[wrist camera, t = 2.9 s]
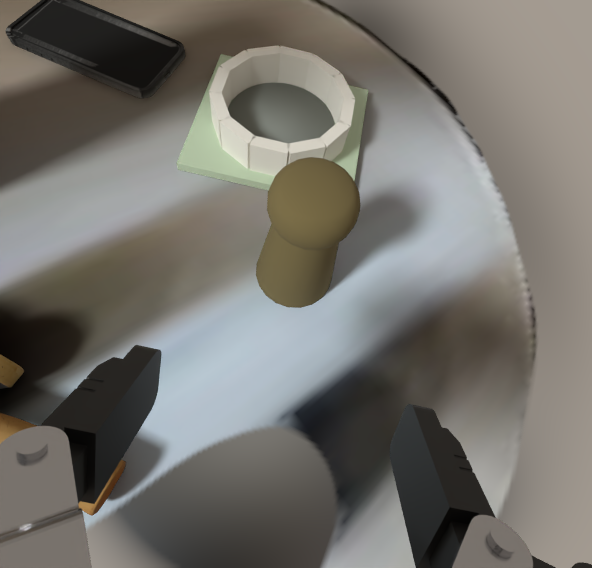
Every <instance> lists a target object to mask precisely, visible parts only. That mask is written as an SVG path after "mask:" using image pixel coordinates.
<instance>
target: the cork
mask: <svg viewBox="0 0 592 568" xmlns="http://www.w3.org/2000/svg"><path fill="white" fill-rule="evenodd" d="M267 211H268V214H269V217H270V220H271V223H272V224H271V227H270V230H269V232H268V235H267V238H266V240H265V243H264V246H263V249H262V251H261V254H260V257H259V259H258V262H257V268H256V276H257V279H258V283H259V286H260V287H261V289H262V290H263V292H264V293H265V294H266V296H268V297H269V298H270V299H272V300H273V301H274V302H276V303H278V304H281V305H283V306H286V307H298V308H301V307H304V306H308V305H312V304H313V303H315V302H316V301H318V300H319V299H321V298H322V297H323V296H324V294H325V293H326V292H327V290H328V289H329V285H330V282H331V279H332V274H333V269H334V264H335V259H336V254H337V249H338V244H339V242H340V241H342V240H343V239H344V238H345V237H346V236H347V235H348V234H349V232H350V231H351V230H352V229H353V227H354V225H355V224H356V221H357V218H358V215H359V211H360V196H359V191H358V189H357V187H356V184H355V182H354V180H353V178H352V177H351V176H350V175H349V173H348V172H347V171H346V170H345V169H344V168H342V167H341V166H339V165H338V164H336V163H335V162H332V161H329V160H327V159H324V158H315V157H308V158H302V159H298V160H296V161H294V162H292V163H290V164H288V165H286V166H285V167H283V168H282V169H281V170H280V171H279V172H278V173H277V175H276V176H275V178H274V180H273V182H272V184H271V186H270V188H269V191H268V203H267Z"/></svg>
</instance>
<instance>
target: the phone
mask: <svg viewBox="0 0 592 568" xmlns="http://www.w3.org/2000/svg"><path fill="white" fill-rule="evenodd" d="M6 34H7V36H8V38H9V39H10V41H11V42H12V44H14V45H15V46H18V47H20V48H22V49H25V50H27V51H29V52H32V53H34V54H36V55H39V56H41V57H44V58H46V59H48V60H51V61H53V62H55V63H58V64H60V65H62V66H65V67H67V68H69V69H72V70H74V71H76V72H79V73H81V74H83V75H86V76H88V77H91V78H93V79H95V80H98V81H100V82H102V83H105V84H107V85H109V86H112V87H114V88H116V89H119V90H121V91H123V92H126V93H128V94H131V95H133V96H135V97H138V98H147V97H150V96H152V95H153V94H154V93H155V92H156V91H157V90H158V89H159V87H160V86H161V85H162V84H163V83H164V82H165V80H166V79H167V78H168V77H169V76H170V75H171V73H172V72H173V71H174V70H175V69H176V68H177V67H178V65H179V64H180V63H181V62H182V61H183V60H184V58H185V50H184V46H183V44H182V43H181V42H179V41H177V40H175V39H172V38H170V37H167V36H165V35H162V34H160V33H158V32H155V31H153V30H150V29H148V28H145V27H143V26H141V25H138V24H136V23H133V22H131V21H129V20H126V19H124V18H121V17H119V16H116V15H114V14H112V13H109V12H107V11H104V10H102V9H100V8H97V7H95V6H92V5H90V4H87V3H85V2H83V1H80V0H41V1H40V2H39V3H37V4H36V5H35V6H33V7H32V8H31V9H30V10H28V11H27V12H26V13H25V14H23V15H22V16H21V17H19V18H18V19H17V20H16V21H14V22H13V23H12V24H11V25H9V26H8V27H7V28H6ZM168 72H169V73H168ZM167 73H168V74H167ZM166 74H167V76H166V77H165V78H164V76H165V75H166Z"/></svg>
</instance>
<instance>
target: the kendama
mask: <svg viewBox="0 0 592 568" xmlns="http://www.w3.org/2000/svg"><path fill="white" fill-rule="evenodd" d="M23 372H24V370H23V368H22V367H20V366H19V365H17V364H16V363H14V362H12V361H10V360H9V359H7V358H6V357H4V356H2V355H1V354H0V389H2V388H7V387H12V386H13V385H14V383H15V382H16V381H17V380H18V379H19V377H20V376H21V375H22V374H23ZM36 426H37V425H34V424H31V423H29V422H26V421H23V420H21V419H18V418H15V417H12V416H9V415H5V414H2V413H0V444H1V443H2V442H3V441H4V440H5V439H6V438H8V437H9V436H11V435H13V434H15V433H17V432H19V431H21V430H24V429H27V428H31V427H36ZM125 465H126V462H125V461H123V460H121V461H120V462H119V464H118V466H117V467H116V469H115V471H114V472H113V474H112V476H111V477H110V479H109V481H108V482H107V484H106V486H105V487H104V489H103V491H102V492H101V494H100V496H99V497H98V499H97V501H96V502H95V504H91V503H86V502H81V501H80V502H79V504H78V505H79V508H81V509H82V510H83V511H84V512H86V513H87V514H89V515H94V514H95V513H97V512H98V511H99V509H100V508H101V507H102V505H103V504H104V502H105V501H106V499H107V498H108V496H109V495H110V493H111V492H112V490H113V488H114V486H115V484H116V482H117V481H118V480H119V478H120V476H121V475H122V473H123V471H124V468H125Z"/></svg>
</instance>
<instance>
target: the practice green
mask: <svg viewBox="0 0 592 568" xmlns="http://www.w3.org/2000/svg"><path fill="white" fill-rule="evenodd" d="M340 73H341V72H340V71H338V70H337V69H335V68H334V67H333V66H331V65H330V64H328V63H327V62H325V61H324V60H323V59H321V58H320V57H318V56H317V55H314V56H313V53H309V52H305V51H301V50H297V49H293V48H289V47H285V46H281V47H279V45H277V46H269V47H261V48H252V49H247V51H245V50H244V51H242V52H240V53H239V54H237V55H236V56H234V57H231V56H227V55H223V54H221V55H220V58H219V60H218V62H217V65H216V67H215V70H214V72H213V75H212V77H211V80H210V82H209V85H208V87H207V90H206V92H205V95H204V97H203V99H202V102H201V104H200V107H199V109H198V112H197V114H196V117H195V119H194V122H193V124H192V127H191V129H190V131H189V134H188V136H187V139H186V141H185V144H184V146H183V149H182V151H181V154H180V156H179V159H178V161H177V167H178V170H182V171H186V172H191V173H195V174H199V175H204V176H208V177H212V178H217V179H221V180H225V181H230V182H234V183H238V184H243V185H247V186H251V187H256V188H260V189H264V190H269V188H270V186H271V184H272V182H273V180H274V178H275V176H276V175H277V173H278V172H279V171H280V170H281V169H282V168H283V167H285V166H286V165H288V164H290V163H292V162H294V161H296V160H298V159H302V158H308V157H315V158H324V159H327V160H329V161H332V162H335V163H336V164H338V165H339V166H341V167H342V168H344V169H345V170H346V171H347V172H348V173H349V175H350V176H351V177H352V178H353V180H355V173H356V167H357V160H358V154H359V147H360V141H361V134H362V128H363V121H364V115H365V108H366V102H367V95H368V90H367V89H362V88H358V87H354V86H350V85H348V84H347V82H346V80H345V78H344V76H343V74H340Z"/></svg>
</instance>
